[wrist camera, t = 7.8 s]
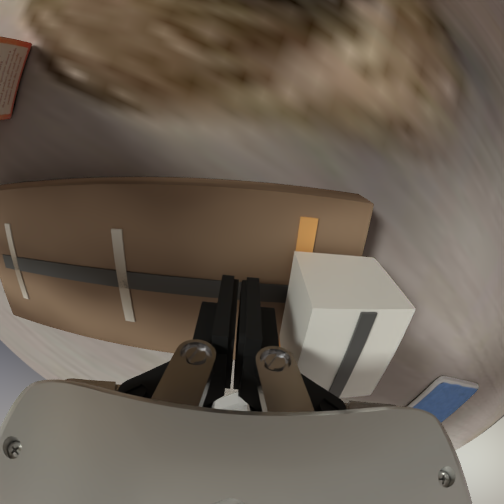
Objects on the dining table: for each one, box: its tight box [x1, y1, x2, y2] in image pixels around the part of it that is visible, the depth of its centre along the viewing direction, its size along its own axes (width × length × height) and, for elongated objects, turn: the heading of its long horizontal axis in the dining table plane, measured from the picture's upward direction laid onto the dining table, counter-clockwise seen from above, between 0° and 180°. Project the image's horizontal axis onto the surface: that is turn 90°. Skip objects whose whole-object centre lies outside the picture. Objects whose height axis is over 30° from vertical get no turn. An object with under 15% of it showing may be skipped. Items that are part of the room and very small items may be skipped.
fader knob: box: [279, 251, 415, 398], centre depth 11 cm, size 5×4×4 cm
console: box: [0, 177, 374, 360], centre depth 14 cm, size 10×24×2 cm, turn 85°
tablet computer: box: [406, 376, 479, 422], centre depth 25 cm, size 19×13×1 cm, turn 153°
